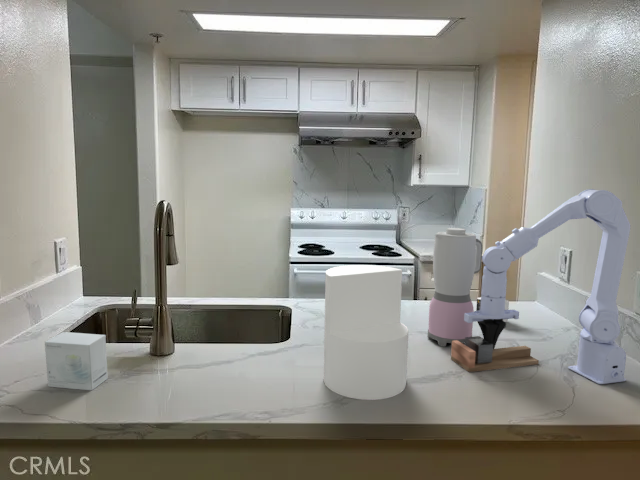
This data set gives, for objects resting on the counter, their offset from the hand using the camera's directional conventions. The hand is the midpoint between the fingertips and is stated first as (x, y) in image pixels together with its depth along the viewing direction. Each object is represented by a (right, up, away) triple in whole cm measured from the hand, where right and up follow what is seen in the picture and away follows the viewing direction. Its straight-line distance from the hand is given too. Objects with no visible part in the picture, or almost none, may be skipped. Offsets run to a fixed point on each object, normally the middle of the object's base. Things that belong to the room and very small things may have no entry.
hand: (489, 347), depth 117 cm
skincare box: (-96, -5, -15) cm, 97 cm away
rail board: (+2, -4, +1) cm, 4 cm away
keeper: (-3, -3, -1) cm, 4 cm away
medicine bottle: (+13, +1, +35) cm, 38 cm away
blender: (-4, -2, +17) cm, 17 cm away
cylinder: (-33, -5, -11) cm, 35 cm away
